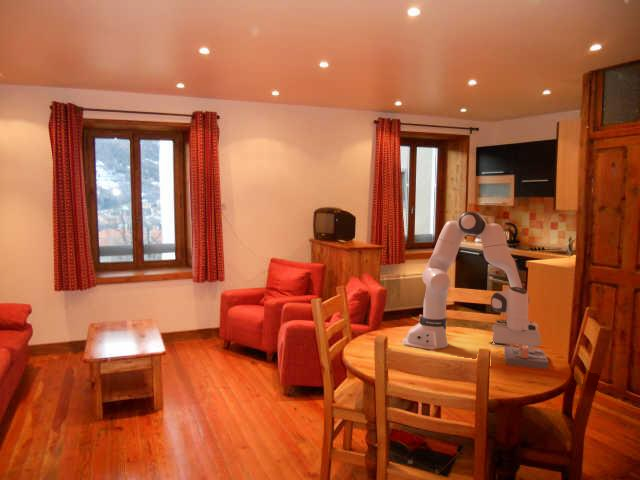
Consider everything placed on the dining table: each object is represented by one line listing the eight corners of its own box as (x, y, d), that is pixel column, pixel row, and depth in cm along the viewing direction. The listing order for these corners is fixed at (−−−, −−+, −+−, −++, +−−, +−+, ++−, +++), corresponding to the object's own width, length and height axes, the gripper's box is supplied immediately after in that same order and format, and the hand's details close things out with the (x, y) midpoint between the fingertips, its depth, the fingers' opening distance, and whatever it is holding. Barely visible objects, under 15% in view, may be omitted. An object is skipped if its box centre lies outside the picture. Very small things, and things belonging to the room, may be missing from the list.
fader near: (520, 357, 219) (521, 349, 219) (519, 354, 224) (520, 346, 223) (528, 358, 218) (528, 350, 218) (527, 354, 223) (527, 347, 222)
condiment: (510, 344, 250) (511, 321, 249) (500, 347, 245) (501, 323, 244) (498, 340, 256) (499, 318, 255) (488, 343, 251) (489, 320, 250)
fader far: (527, 352, 226) (527, 344, 226) (526, 348, 231) (526, 341, 231) (534, 352, 226) (534, 345, 225) (533, 349, 230) (533, 342, 230)
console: (506, 364, 220) (507, 358, 219) (504, 352, 237) (504, 346, 236) (548, 369, 215) (548, 362, 214) (542, 356, 232) (543, 349, 231)
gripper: (492, 323, 221) (491, 353, 222) (542, 327, 214) (540, 358, 216) (492, 320, 227) (491, 349, 228) (540, 323, 220) (539, 353, 222)
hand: (515, 353), depth 222 cm, fingers closed
